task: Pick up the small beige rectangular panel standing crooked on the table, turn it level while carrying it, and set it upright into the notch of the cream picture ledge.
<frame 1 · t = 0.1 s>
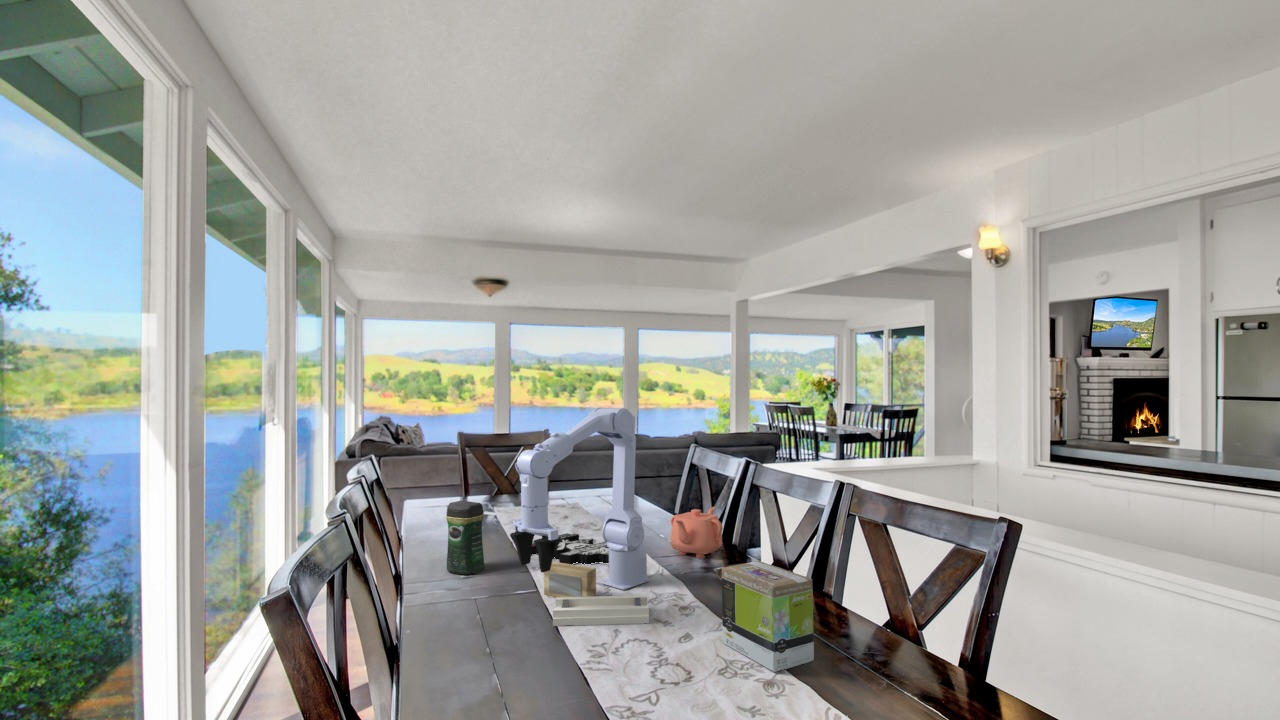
hand: (535, 567, 139), 10 cm above the table, tool pointing down, fingers open, 7 cm apart
coffee jar: (465, 571, 171), on the table
sign: (578, 557, 185), on the table
ledge: (601, 616, 137), on the table
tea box: (766, 653, 118), on the table
beige rectangular panel: (570, 597, 150), on the table
plant saucer: (753, 587, 157), on the table
teapot: (696, 554, 186), on the table
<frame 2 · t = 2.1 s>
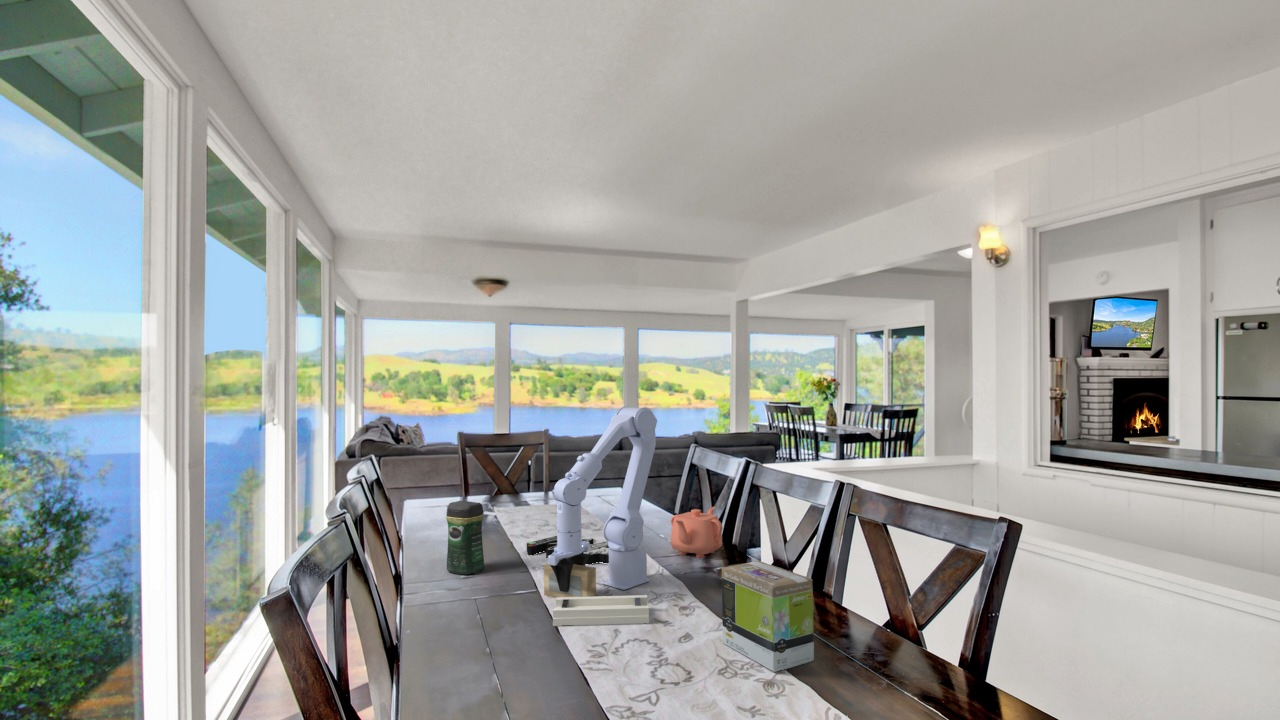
hand: (569, 588, 150), 2 cm above the table, tool pointing down, fingers closed on beige rectangular panel, 4 cm apart
beige rectangular panel: (570, 596, 150), on the table, touching gripper
everything else where it was.
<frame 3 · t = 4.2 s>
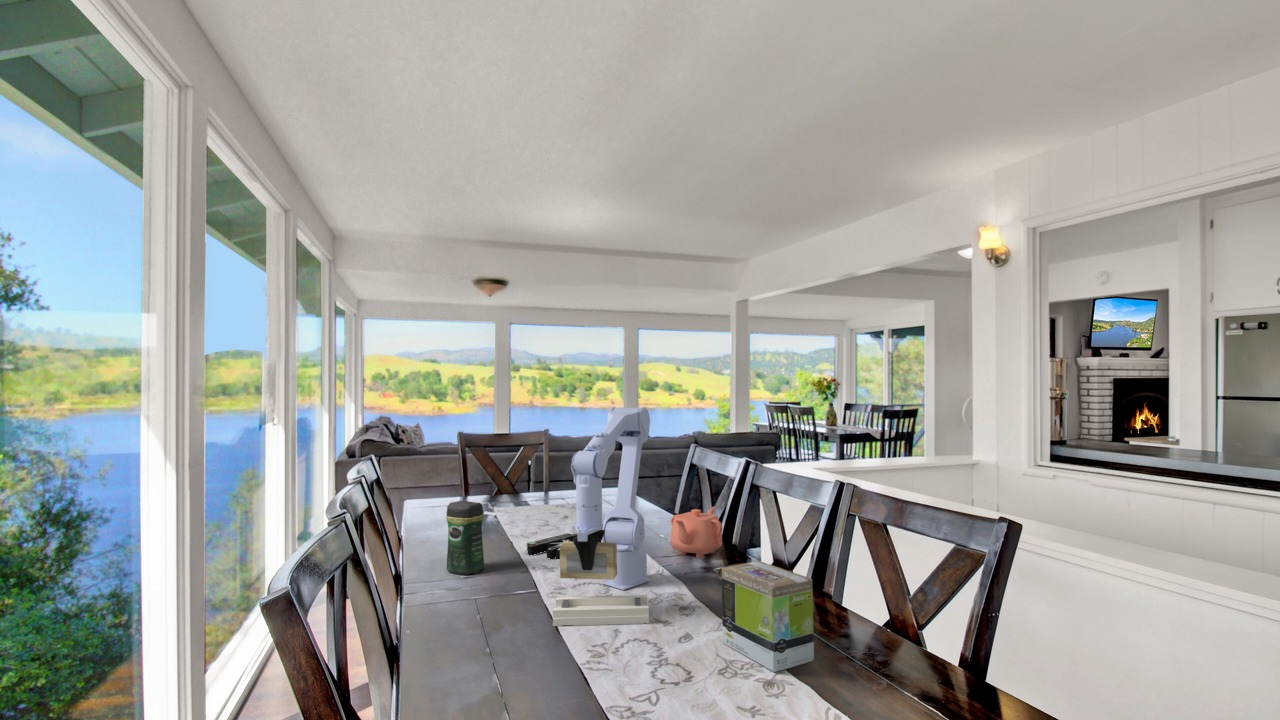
hand: (589, 566, 141), 9 cm above the table, tool pointing down, fingers closed on beige rectangular panel, 4 cm apart
beige rectangular panel: (588, 576, 141), point 7 cm above the table, touching gripper
everything else where it was.
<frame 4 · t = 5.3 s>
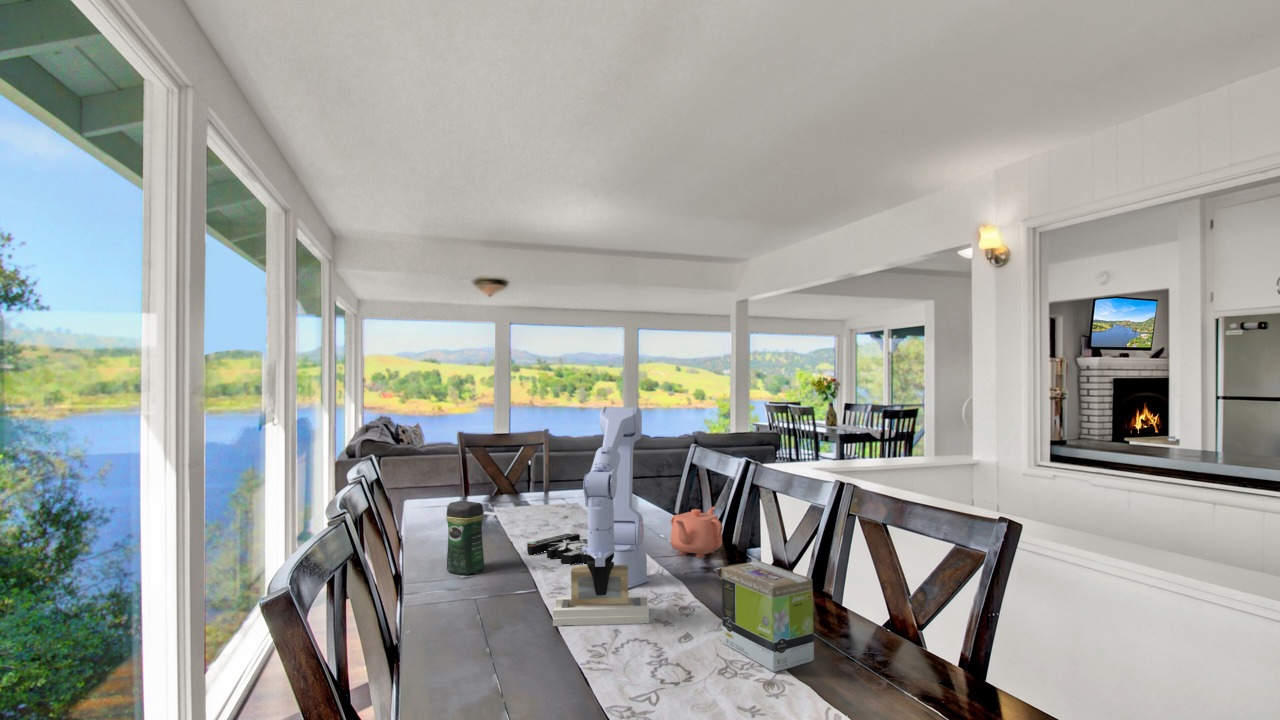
hand: (601, 591, 137), 5 cm above the table, tool pointing down, fingers closed on beige rectangular panel, 4 cm apart
beige rectangular panel: (600, 600, 137), point 3 cm above the table, touching gripper
everything else where it was.
when the fingers open (4 cm above the table, at t = 6.3 s): beige rectangular panel stays where it is, resting on ledge.
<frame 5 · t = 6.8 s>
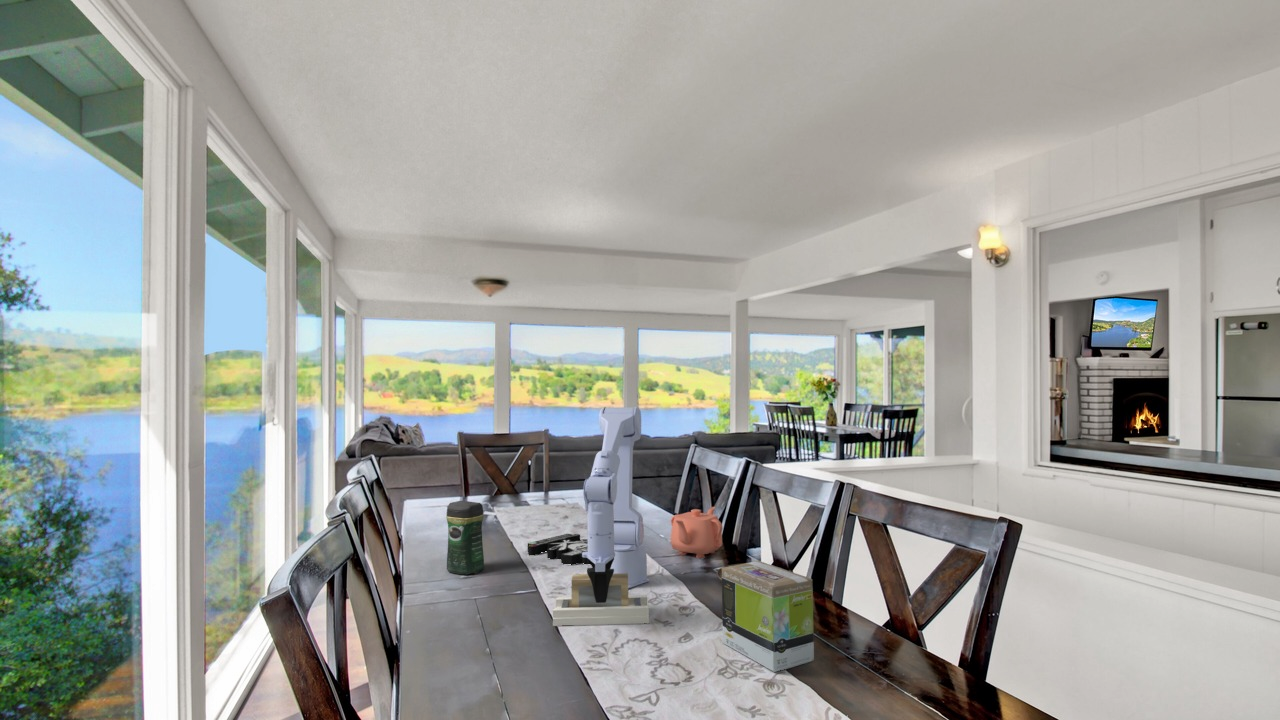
hand: (601, 595, 137), 4 cm above the table, tool pointing down, fingers open, 7 cm apart
beige rectangular panel: (600, 609, 137), point 1 cm above the table, touching ledge
everything else where it was.
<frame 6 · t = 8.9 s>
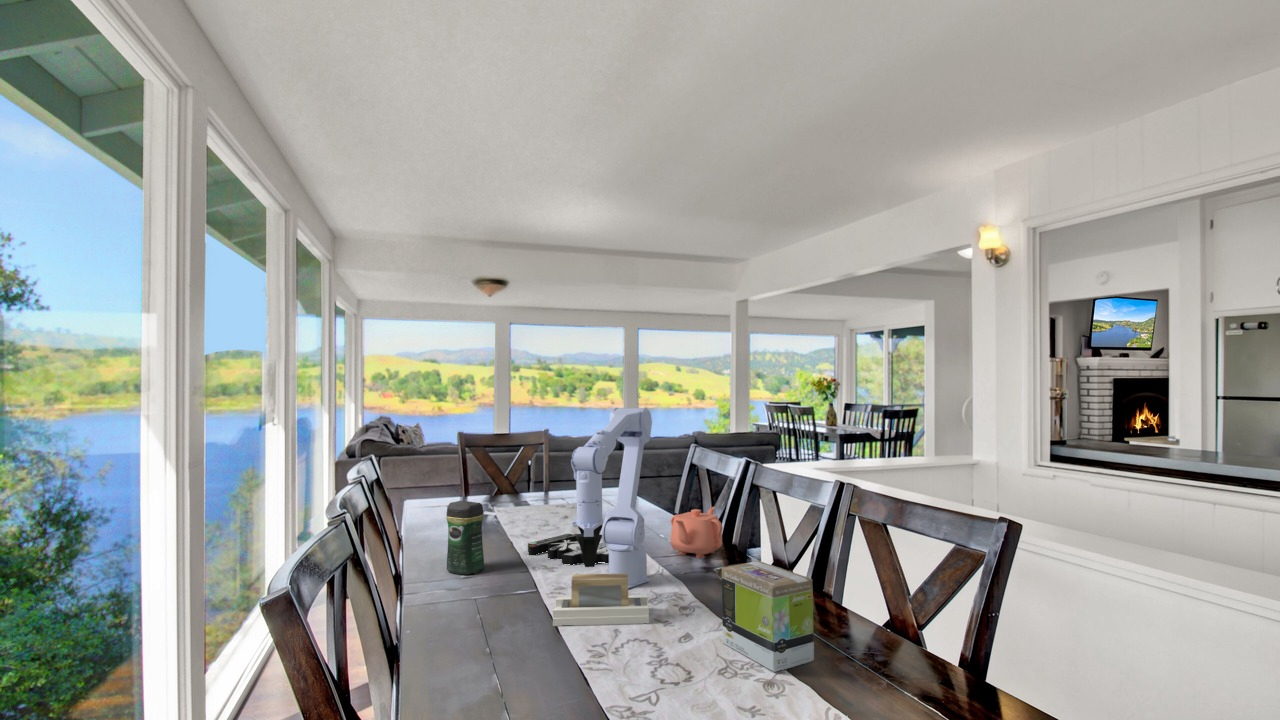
hand: (590, 561, 142), 10 cm above the table, tool pointing down, fingers open, 7 cm apart
nothing on the table moved.
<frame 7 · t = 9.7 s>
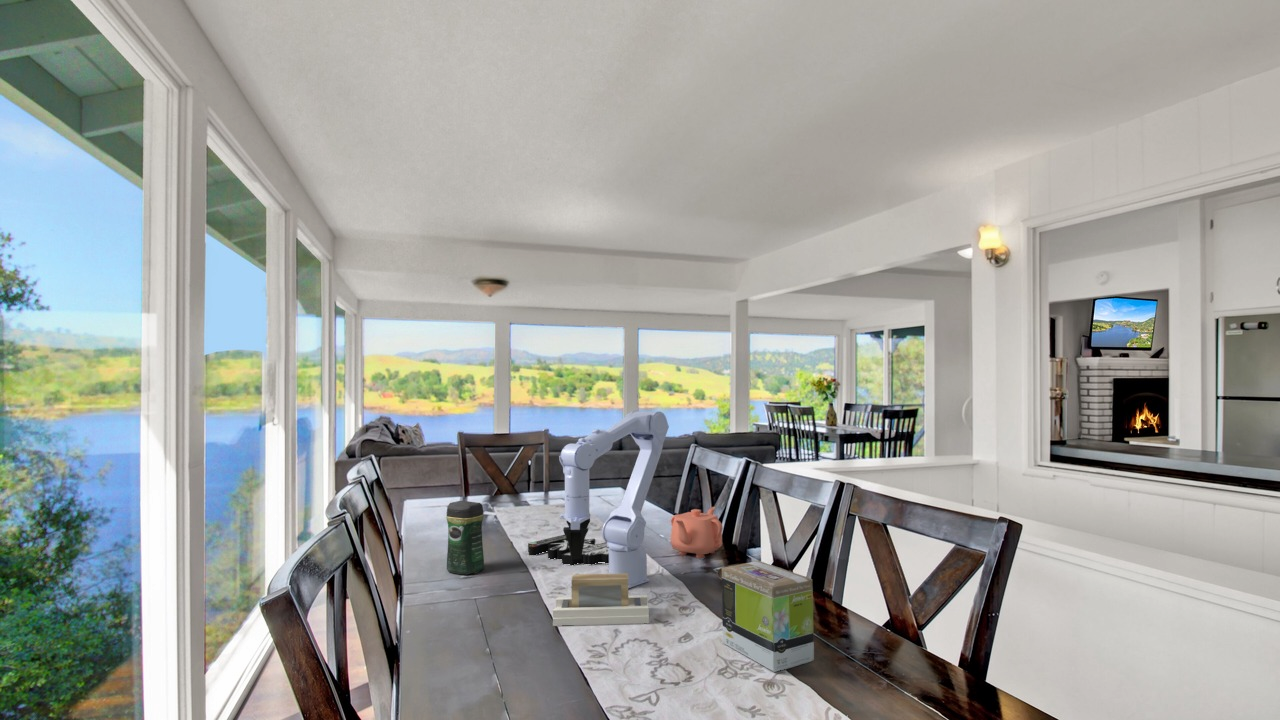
hand: (577, 554, 148), 10 cm above the table, tool pointing down, fingers open, 7 cm apart
nothing on the table moved.
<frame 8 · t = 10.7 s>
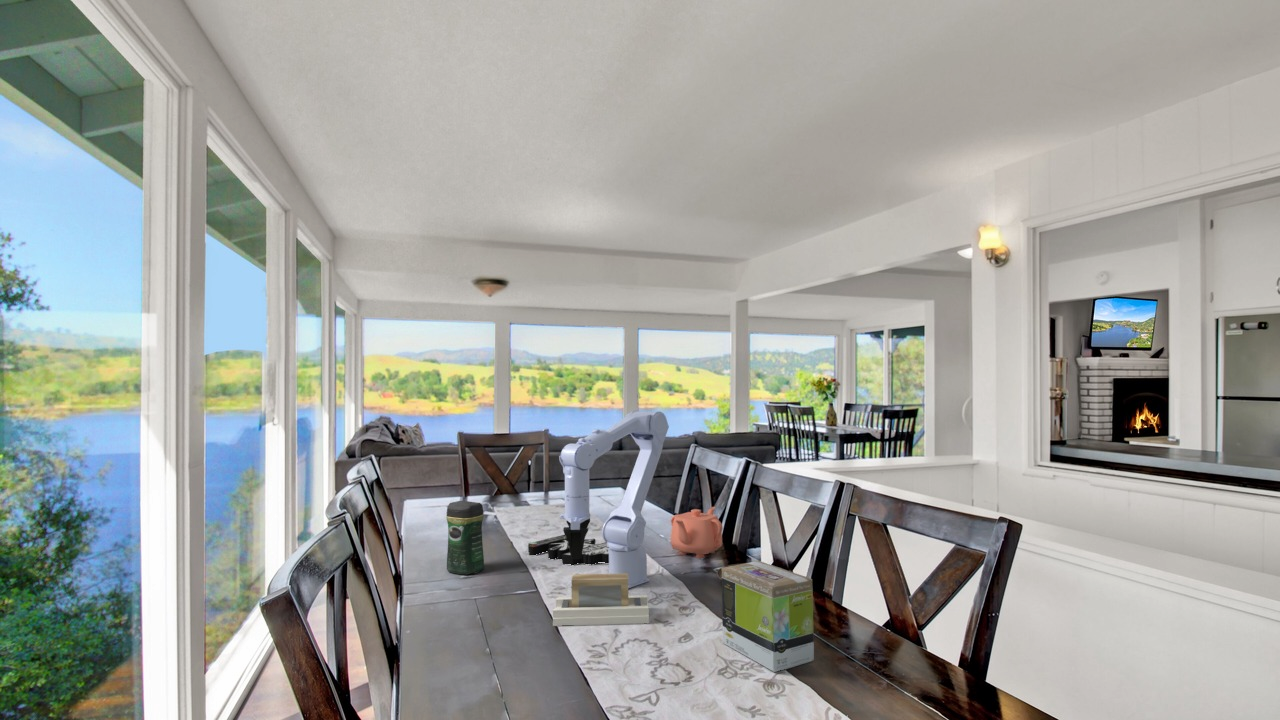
hand: (577, 554, 148), 10 cm above the table, tool pointing down, fingers open, 7 cm apart
nothing on the table moved.
at the end: beige rectangular panel 0.2 cm off-centre on the ledge, point 1.5 cm above the ledge's base; beige rectangular panel tilted 0°; the gripper is holding nothing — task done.
